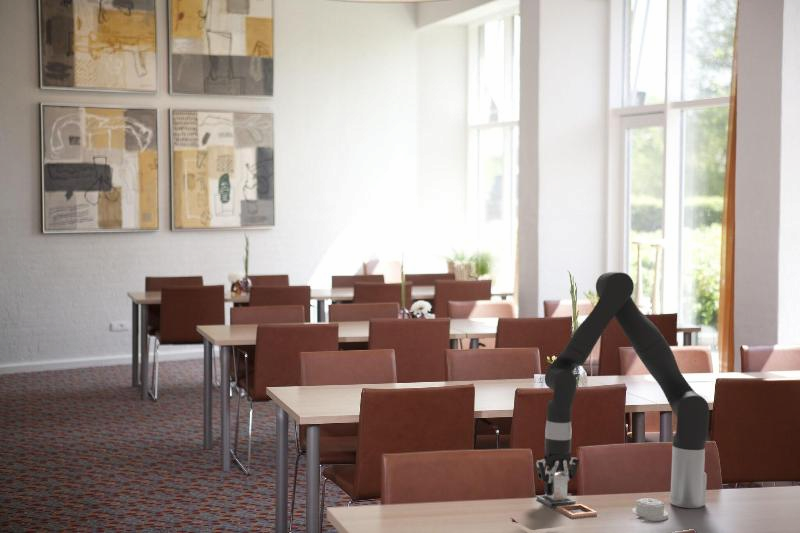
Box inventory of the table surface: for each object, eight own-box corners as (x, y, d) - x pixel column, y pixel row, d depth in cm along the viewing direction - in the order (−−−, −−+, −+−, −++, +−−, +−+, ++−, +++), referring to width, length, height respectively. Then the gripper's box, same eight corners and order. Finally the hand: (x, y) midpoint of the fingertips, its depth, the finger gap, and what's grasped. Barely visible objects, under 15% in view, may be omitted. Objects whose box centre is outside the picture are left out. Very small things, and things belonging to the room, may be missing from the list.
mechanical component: (631, 520, 285) (668, 523, 283) (632, 504, 285) (669, 507, 283) (631, 510, 295) (666, 513, 293) (631, 494, 294) (667, 497, 292)
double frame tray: (561, 500, 302) (561, 493, 302) (600, 519, 283) (600, 512, 283) (535, 502, 298) (535, 496, 298) (572, 523, 280) (572, 515, 280)
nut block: (558, 499, 299) (559, 472, 299) (566, 503, 295) (567, 476, 295) (545, 500, 297) (546, 473, 297) (553, 504, 293) (554, 477, 293)
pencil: (512, 523, 279) (512, 520, 279) (506, 503, 298) (507, 500, 298) (515, 524, 279) (515, 520, 279) (509, 504, 298) (509, 501, 298)
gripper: (572, 431, 301) (570, 488, 302) (530, 434, 296) (528, 492, 297) (586, 437, 295) (584, 495, 295) (543, 440, 289) (541, 500, 290)
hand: (556, 494), depth 296 cm, fingers closed on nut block, 4 cm apart
